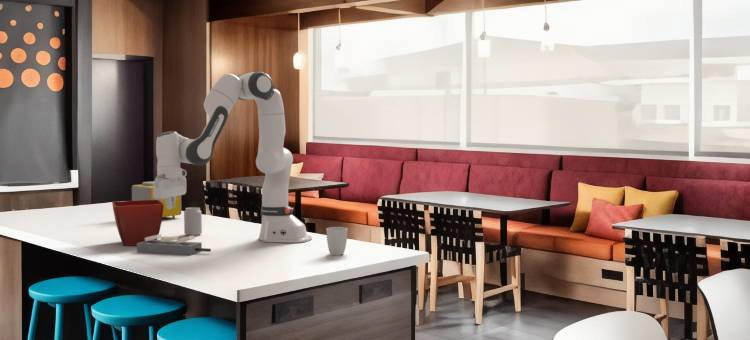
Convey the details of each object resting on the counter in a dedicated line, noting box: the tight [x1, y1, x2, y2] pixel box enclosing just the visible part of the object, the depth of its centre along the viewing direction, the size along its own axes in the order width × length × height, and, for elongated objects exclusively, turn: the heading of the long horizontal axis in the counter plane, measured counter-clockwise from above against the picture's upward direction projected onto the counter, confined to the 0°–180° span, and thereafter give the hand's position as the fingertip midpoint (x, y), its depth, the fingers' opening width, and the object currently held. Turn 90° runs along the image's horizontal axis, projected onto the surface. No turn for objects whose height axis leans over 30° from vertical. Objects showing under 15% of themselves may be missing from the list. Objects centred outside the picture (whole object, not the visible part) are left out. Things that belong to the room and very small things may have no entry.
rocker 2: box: [160, 235, 179, 241], centre depth 333 cm, size 6×3×2 cm, turn 73°
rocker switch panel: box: [136, 239, 212, 256], centre depth 332 cm, size 29×9×4 cm, turn 73°
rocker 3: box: [176, 236, 195, 243], centre depth 331 cm, size 6×3×2 cm, turn 73°
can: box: [183, 206, 203, 237], centre depth 375 cm, size 8×8×12 cm
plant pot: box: [112, 200, 164, 246], centre depth 353 cm, size 19×19×17 cm
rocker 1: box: [145, 233, 163, 242], centre depth 335 cm, size 6×3×2 cm, turn 73°
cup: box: [325, 226, 349, 256], centre depth 328 cm, size 8×8×10 cm
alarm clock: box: [131, 180, 182, 219], centre depth 427 cm, size 20×16×18 cm
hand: (170, 208), depth 334 cm, fingers closed
